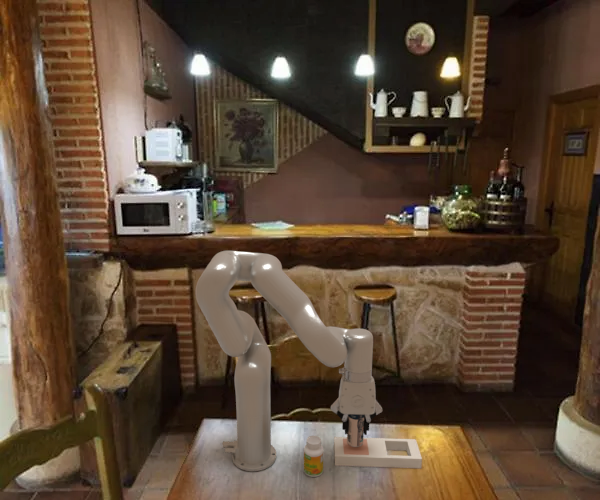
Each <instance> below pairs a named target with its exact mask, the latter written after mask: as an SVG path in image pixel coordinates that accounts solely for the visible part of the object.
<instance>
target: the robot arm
mask: <svg viewBox="0 0 600 500" xmlns="http://www.w3.org/2000/svg"><path fill="white" fill-rule="evenodd" d="M237 281H240V282H241V281H242V282H250V283H251V285H252V287H253V288H254V289H255V290H256V291H257V292H258V293H259V295H261V297H263V298H264V299H265V301H266V302H268V303H269V304H270V306H272V308H273V309H275V310H276V311H277V313H278V314H279V315H281V317H282V318H283V319H284V320H285V321H286V323H287V325H288V326H289V327H290V329H291V330H292V331H293V333H295V335H296V337H297V338H298V339H299V340H300V341H301V343H302V344H303V346H304V347H305V348H306V349H307V350H308V351H309V352H310V353H311V354H312V355H313V356H314V357H315V358H316V359H317V360H318V361H319V362H320V363H322V364H323V365H325V366H326V367H329V368H337V367H340V366H341V365H344V366H343V367H342V368H339V369H338V373H339V374H341V379H340V384H339V390H338V398H337V399H336V400H335V401H334V402H333V403H332V404H331V405H330V411H332V412H333V413H334V414H336V415H337V416H338V417H339V419H341V421H342V430H344V435H347V434H348V414H355V415H364V435H365V436H367V434H368V431H370V423H371V421H372V420H373V419H374V418H376V416H377V415H380V413H382V412H383V407H382V405H381V404H380V403H379V402H378V400H377V399H376V384H375V383H376V382H375V378H374V376H372V371H373V369H372V368H373V353H374V352H373V350H374V336H373V333H372V332H371V331H370V330H368V329H365V328H359V327H358V328H345V327H344V328H343V327H339V326H330V325H329V326H326V325H325V324H324V322H323V321H322V320H321V318H320V316H319V315H318V313H317V311H316V309H315V307H314V305H313V303H312V301H311V299H310V298H309V297H308V295H307V294H306V293H305V292H304V291H303V290H302V289H301V288H300V287H299V286H298V285H297V284H296V283H295V282H294V281H293V280H292V278H290V277H289V276H288V275H287V274H286V272H285V271H284V270H283V266H282V263H281V261H280V260H279V259H278V258H277V257H276V256H274V255H273V254H269V253H262V252H251V251H242V250H241V251H240V250H239V251H238V250H223V251H222V250H221V251H220V252H217V253H216V254H215V255H214V256H213V257H212V258H211V260H210V262H209V263H208V264H207V266H206V267H205V268H204V270H203V272H202V273H201V275H200V277H199V278H198V280H197V282H196V285H195V299H196V303H197V304H198V307H199V309H200V310H201V313H202V314H203V316H204V318H205V320H206V321H207V324H208V326H209V328H210V329H211V331H212V333H213V335H214V337H215V339H216V341H217V342H218V345H219V347H220V349H222V351H223V352H224V353H225V354H226V355H227V356H229V357H234V358H236V357H237V361H236V365H235V369H234V377H233V379H234V390H235V402H236V403H235V405H236V407H235V408H236V409H235V410H236V432H237V433H236V436H237V437H236V440H233V441H224V440H223V441H222V449H225V450H224V453H225V454H232V455H231V457H232V462H233V465H234V466H236V467H237V469H241V470H243V471H247V472H257V471H263V470H266V469H268V468H269V467H271V466H272V465H273V464H274V463H275V462H276V459H277V449H276V448H275V446H273V444H272V438H271V437H272V432H271V430H272V429H271V427H272V426H271V424H272V423H271V422H272V421H271V417H272V416H271V415H272V414H271V413H272V412H271V371H272V370H271V368H272V353H271V350H270V347H269V346H268V344H267V342H266V340H265V338H264V336H263V334H262V333H261V331H260V329H259V326H258V325H257V323H256V321H255V319H254V318H253V317H252V316H251V315H250V314H249V313H248V312H246V311H244V310H240V309H238V308H237V305H236V304H235V302H234V300H233V299H232V298H231V297H230V290H231V289H232V288H233V287H234V285H235V284H236V282H237Z"/></svg>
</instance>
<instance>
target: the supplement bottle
mask: <svg viewBox="0 0 600 500" xmlns="http://www.w3.org/2000/svg"><path fill="white" fill-rule="evenodd" d="M324 451H325V450H324V447H323V445H322V439H321V437H320V436H318V435H309V436H308V437H307V438H306V444H305V445H304V448H303V472H304V474H305V476H308V477H310V478H316V477H317V478H318V477H320V476H322V475H323V472H324V454H325V453H324Z"/></svg>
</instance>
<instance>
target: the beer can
mask: <svg viewBox="0 0 600 500" xmlns="http://www.w3.org/2000/svg"><path fill="white" fill-rule="evenodd" d="M364 416H365V415H355V414H348V434H346V437H347V443H348V444H349V445H350V446H352V447H360V446H362V445H363V438H365V437H364V435H365V434H364Z"/></svg>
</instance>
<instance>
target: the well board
mask: <svg viewBox="0 0 600 500" xmlns="http://www.w3.org/2000/svg"><path fill="white" fill-rule="evenodd" d="M333 439H334V440H333V443H334V444H333V451H334V453H333V455H334V466H336V467H360V468H361V467H362V468H363V467H364V468H365V467H366V468H367V467H368V468H369V467H370V468H371V467H372V468H374V467H375V468H396V469H397V468H399V469H400V468H401V469H422V465H423V457H422V455H421V454H422V453H421V451H420V448H419V445H418V442H417V439H413V438H384V437H383V438H382V437H363V445H362V446H360V447H352V446H350V445H349V444H348V443H347V436H334V437H333ZM388 451H406V454H407V455H397V454H396V455H395V454H394V455H393V454H392V455H391V454H390V455H389V454H388Z"/></svg>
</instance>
